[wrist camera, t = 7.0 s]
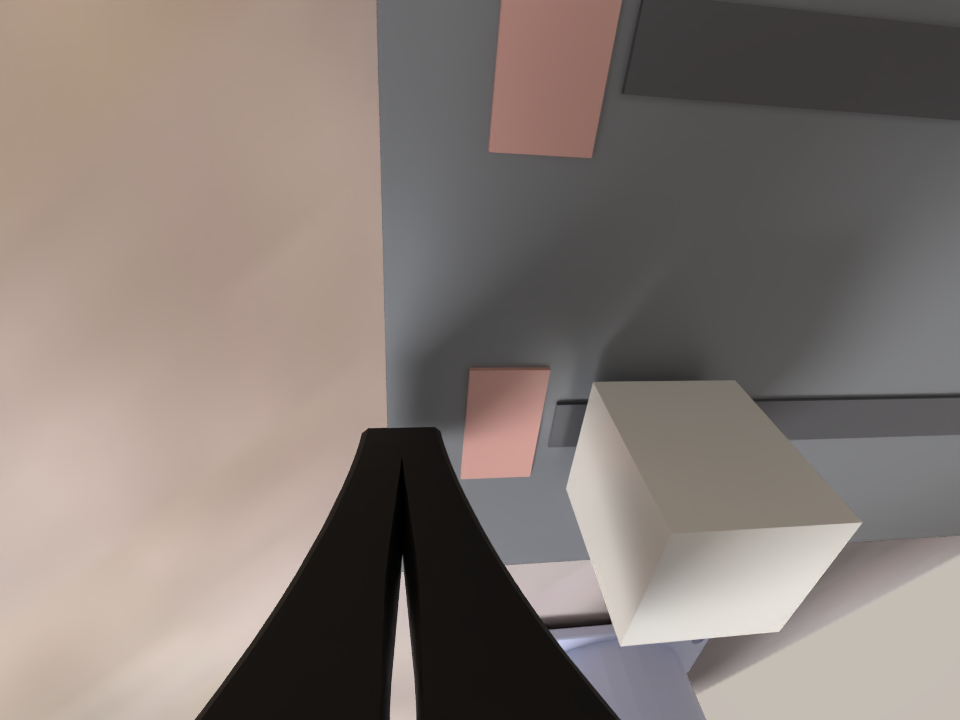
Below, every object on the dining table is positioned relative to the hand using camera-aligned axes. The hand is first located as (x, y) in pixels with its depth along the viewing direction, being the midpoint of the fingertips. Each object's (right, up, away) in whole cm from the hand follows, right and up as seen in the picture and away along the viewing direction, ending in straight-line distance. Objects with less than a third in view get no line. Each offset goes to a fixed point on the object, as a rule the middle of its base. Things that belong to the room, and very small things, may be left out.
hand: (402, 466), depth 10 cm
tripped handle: (+5, 0, +1) cm, 5 cm away
